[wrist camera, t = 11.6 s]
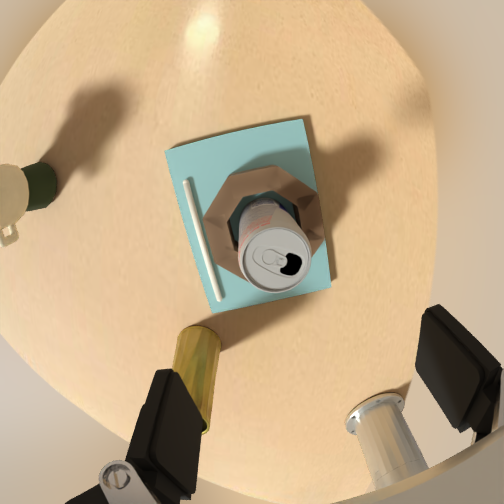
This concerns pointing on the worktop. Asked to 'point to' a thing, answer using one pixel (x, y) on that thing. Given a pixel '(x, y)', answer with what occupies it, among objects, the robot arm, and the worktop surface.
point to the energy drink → (272, 247)
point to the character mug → (23, 194)
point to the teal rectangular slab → (208, 185)
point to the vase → (198, 367)
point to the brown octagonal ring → (251, 184)
